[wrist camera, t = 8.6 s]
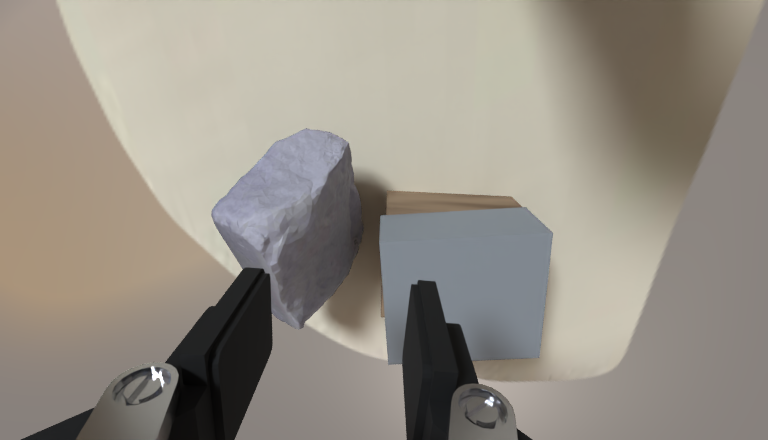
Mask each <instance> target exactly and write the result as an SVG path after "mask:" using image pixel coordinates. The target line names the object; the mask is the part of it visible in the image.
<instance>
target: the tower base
mask: <svg viewBox="0 0 768 440" xmlns="http://www.w3.org/2000/svg"><path fill="white" fill-rule="evenodd" d="M520 207H522V206H521V205H520V204H519V203H518V202H517V201H515V200H514V199H513V198H512V197H507V196H487V195H467V194H446V193H426V192H405V191H387V198H386V215H398V214H415V213H432V212H450V211H467V210H485V209H502V208H520ZM381 317H385V313H384V299H383V286H382V294H381Z"/></svg>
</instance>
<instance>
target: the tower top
mask: <svg viewBox="0 0 768 440" xmlns="http://www.w3.org/2000/svg"><path fill="white" fill-rule="evenodd" d="M552 237H553V232H552V231H550V230H549V229H548V228H547V227H546V226H545V225H544V224H543V223H542V222H541V221H540V220H539V219H538V218H537V217H535V216H534V215H533V214H532V213H531V212H530V211H529V210H528V209H527V208H526V207H520V208H502V209H485V210H467V211H450V212H432V213H415V214H398V215H380V236H379V246H380V260H381V273H382V286H383V299H384V313H385V326H386V339H387V352H388V364H389V365H390V364H402V355H403V345H404V337H405V329H406V321H407V313H408V305H409V297H410V289H411V284H417V282H418V280H425V281H435V282H436V285H437V289H438V293H439V297H440V301H441V305H442V309H443V313H444V317H445V321H446V323H456V324H460V325H461V328H462V331H463V334H464V337H465V340H466V344H467V347H468V350H469V353H470V357H471V360H472V361H479V360H501V359H523V358H539V356H540V346H541V337H542V328H543V319H544V310H545V301H546V292H547V283H548V274H549V265H550V255H551V246H552Z"/></svg>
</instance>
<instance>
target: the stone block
mask: <svg viewBox="0 0 768 440" xmlns="http://www.w3.org/2000/svg"><path fill="white" fill-rule="evenodd" d="M351 162H352V157H351V151H350V147H349V143H348V142H346V140H344V139H343V138H340V137H339V136H337V135H335V134H332V133H330V132H326V131H325V132H324V131H320V130H310V129H307V128H306V129H304V130H301V131H299V132H298V133H296V134H293V135H291V136H289V137H288V138H285V139H282V140H279V141H277V142H275V143H274V144H273V145H272V146H271V147H270V149H269V150H268V151H267V153H266V154H265V155H264V156H263V157H262V158H261V159H260V160H259V161H258V162H257V164H256V165H255V166H254V167H253V168H252V169H251V170H250V171H249V172H248V173H247V174H246V175H244V176H243V177H241V178H240V179H239V180H238V182H237V183H236V184H235V186H234V187H233V188H232V189H231V190H230V191H229V192H228V194H227V195H226V196H225V197H223V198H222V199H220V200H219V201H218V203H217V204H216V205H215V206H214V208H213V209H212V218H213V221H214V224H215V226H216V227H217V229H218V231H219V233H220V234H221V236H222V237H223V239H224V240H225V242H226V243H227V245H228V246H229V248H230V250H231V251H232V253H233V254H234V256H235V257H236V259H237V261H238V262H239V264H240V265H241V267H242V269H244V268H245V267H250V268H263V269H264V271H265V273H269V274H270V278H271V310H272V314H273V315H274V316H275V317H276V318H278V319H279V320H281V321H283V322H286V323H287V324H288V325H290V326H292V327H294V328H295V329H301V328H303V327H304V323H305V321H306V320H308V319H309V318H310V317H311V316H312V315H313V314H314V313H315V312H316V311H317V310H318V309H319V308H320V307H321V306H322V305H323V304H324V302H325V301H326V300H327V299H329V298H330V297H331V296H332V295H333V294H334V292H335V291H336V289H337V288H338V287H339V286H340V285H341V284H342V282H343V280H344V279H345V277H346V276H347V275H348V274H349V271H350V269H351V266H352V262H353V259H354V258H355V256H356V254H357V253H358V248H359V244H360V242H361V239H362V234H363V229H364V227H363V223H362V221H361V214H362V209H361V201H360V197H359V193H358V191H357V188H356V186H355V185H354V173H353V168H352V165H351Z"/></svg>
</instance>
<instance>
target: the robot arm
mask: <svg viewBox="0 0 768 440" xmlns="http://www.w3.org/2000/svg"><path fill="white" fill-rule="evenodd" d="M271 350H272V310H271V278H270V274H269V273H265V271H264V269H263V268H250V267H245V268H244V269H243V270H242V271H241V273H240V274H239V275H238V277H237V278H236V279H235V281H234V282H233V283H232V285H231V286H230V287H229V289H228V290H227V291H226V292H225V294H224V295H223V297H222V298H221V299H220V300H219V302H218V303H217V304H216V306H211V307H209V308H208V309H207V310H206V311H205V312H204V313H203V315H202V316H201V318H200V319H199V320H198V321H197V322H196V324H195V325H194V326H193V328H192V329H191V330H190V331H189V333H188V334H187V335H186V337H185V338H184V339H183V340H182V342H181V343H180V344H179V345H178V347H177V348H176V349H175V351H174V352H173V353H172V354H171V356H170V357H169V358H168V359H167V361H166V362H165V363H160V362H153V363H148V364H142V365H139V366H137V367H134V368H131V369H129V370H127V371H126V372H124V373H122V374H120V375H119V376H118V377H117V378H115V379H114V380H113V381H112V382H111V383H110V384H109V386H108V387H107V388H106V390H105V391H104V393H103V395H102V396H101V398H100V400H99V401H98V403H97V405H96V406H95V408H92V409H90V410H88V411H85V412H83V413H81V414H79V415H76V416H74V417H72V418H69V419H67V420H65V421H63V422H60V423H58V424H56V425H53V426H51V427H49V428H47V429H44V430H42V431H40V432H37V433H35V434H33V435H30V436H28V437H26V438H24V439H21V440H234V439H235V437H236V435H237V432H238V430H239V428H240V425H241V423H242V420H243V418H244V416H245V413H246V411H247V408H248V406H249V404H250V401H251V399H252V397H253V394H254V392H255V390H256V387H257V385H258V382H259V380H260V378H261V375H262V373H263V371H264V368H265V366H266V363H267V361H268V359H269V356H270V354H271ZM402 366H403V383H404V398H405V416H406V433H407V440H532V439H531V438H529V437H528V436H527V435H525V434H524V433H522V432H521V431H520V430H518V429H517V428H516V420H515V414H514V411H513V407H512V406H511V404H510V403H509V401H508V400H507V399H506V398H505V397H504V396H503V395H502V394H501V393H499V392H498V391H496V390H494V389H493V388H491V387H488V386H485V385H482V384H479V383H478V379H477V376H476V373H475V370H474V366H473V363H472V360H471V357H470V353H469V350H468V347H467V344H466V340H465V337H464V334H463V331H462V328H461V325H460V324H456V323H446V321H445V317H444V313H443V309H442V305H441V301H440V297H439V293H438V289H437V285H436V282H435V281H425V280H418V282H417V284H411V289H410V297H409V305H408V313H407V321H406V329H405V337H404V345H403V355H402Z"/></svg>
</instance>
